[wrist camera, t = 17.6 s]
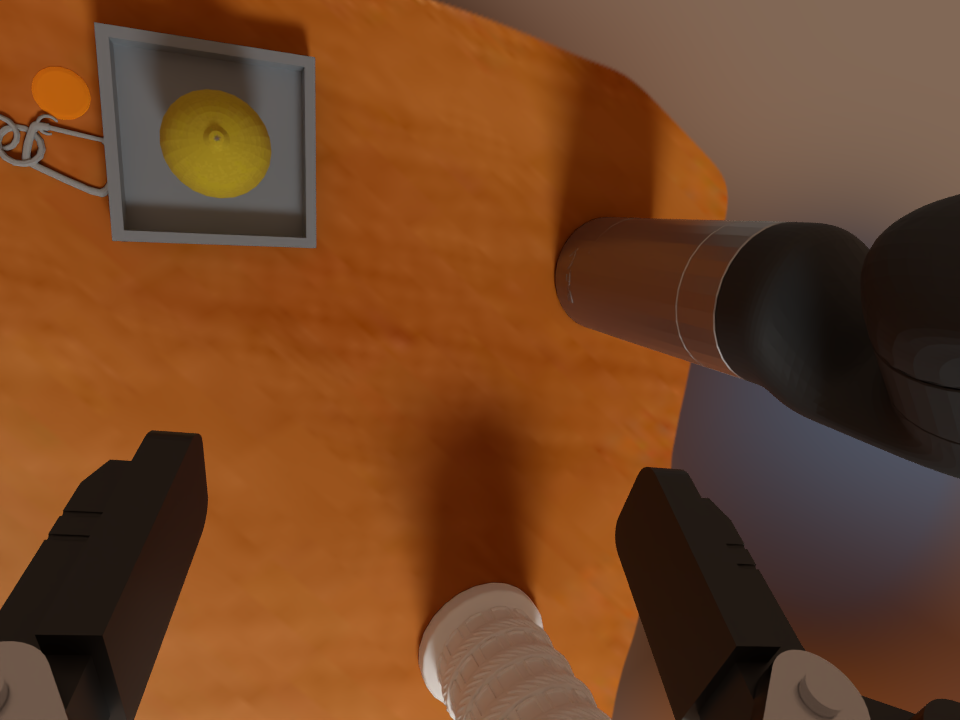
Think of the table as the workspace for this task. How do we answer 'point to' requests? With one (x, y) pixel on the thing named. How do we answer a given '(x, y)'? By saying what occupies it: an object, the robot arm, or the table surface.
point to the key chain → (60, 99)
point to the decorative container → (499, 661)
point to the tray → (139, 159)
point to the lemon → (215, 143)
